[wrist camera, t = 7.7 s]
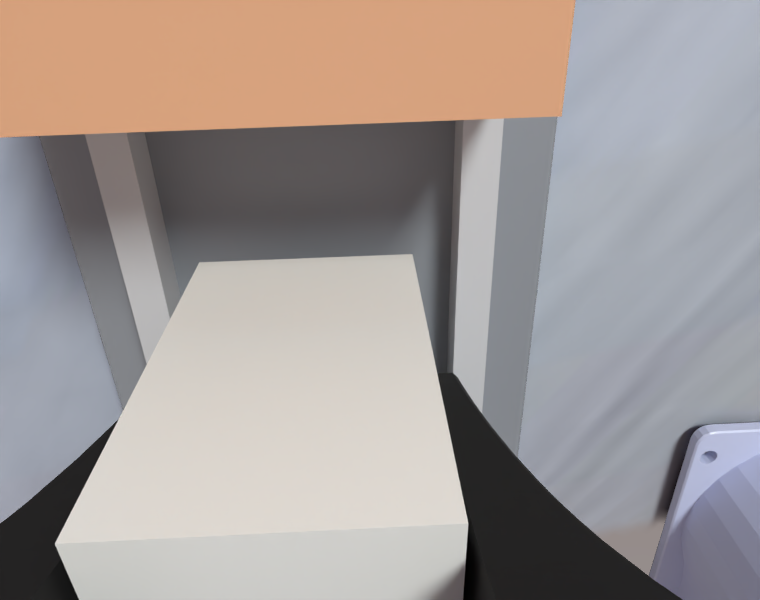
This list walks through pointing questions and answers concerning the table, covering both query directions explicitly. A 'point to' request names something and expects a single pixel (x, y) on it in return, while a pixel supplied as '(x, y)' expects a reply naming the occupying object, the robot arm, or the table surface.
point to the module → (279, 447)
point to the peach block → (276, 63)
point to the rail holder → (320, 227)
